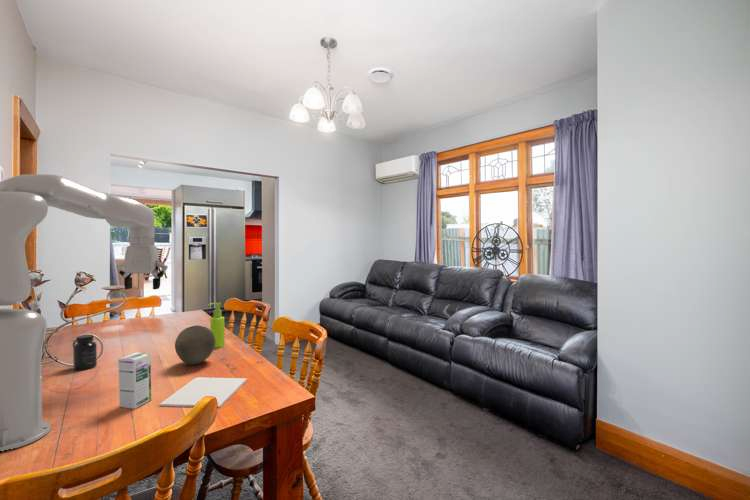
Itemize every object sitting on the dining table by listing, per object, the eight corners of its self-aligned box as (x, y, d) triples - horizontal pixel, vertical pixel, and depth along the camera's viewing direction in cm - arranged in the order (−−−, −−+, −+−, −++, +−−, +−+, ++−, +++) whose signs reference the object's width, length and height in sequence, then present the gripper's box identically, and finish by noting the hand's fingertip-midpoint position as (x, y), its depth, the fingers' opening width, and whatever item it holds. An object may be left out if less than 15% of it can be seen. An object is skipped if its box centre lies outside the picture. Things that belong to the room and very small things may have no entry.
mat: (220, 407, 102) (220, 405, 102) (159, 405, 102) (159, 403, 102) (247, 380, 122) (247, 378, 122) (196, 378, 122) (196, 377, 122)
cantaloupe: (171, 363, 137) (171, 325, 137) (209, 355, 146) (209, 320, 146) (178, 374, 127) (178, 333, 126) (219, 365, 136) (219, 327, 135)
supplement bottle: (69, 368, 130) (69, 336, 130) (91, 363, 136) (91, 332, 136) (78, 372, 127) (78, 339, 127) (100, 366, 133) (100, 335, 133)
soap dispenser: (208, 345, 161) (208, 302, 160) (224, 343, 164) (224, 301, 163) (207, 349, 155) (207, 304, 155) (224, 347, 158) (224, 303, 158)
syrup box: (135, 409, 100) (135, 359, 100) (118, 407, 101) (118, 357, 101) (151, 400, 106) (151, 353, 105) (135, 398, 107) (135, 351, 106)
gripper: (110, 241, 123) (110, 290, 123) (161, 242, 124) (161, 290, 124) (124, 241, 130) (124, 287, 131) (172, 242, 131) (172, 287, 132)
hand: (142, 288), depth 127 cm, fingers open, 9 cm apart
